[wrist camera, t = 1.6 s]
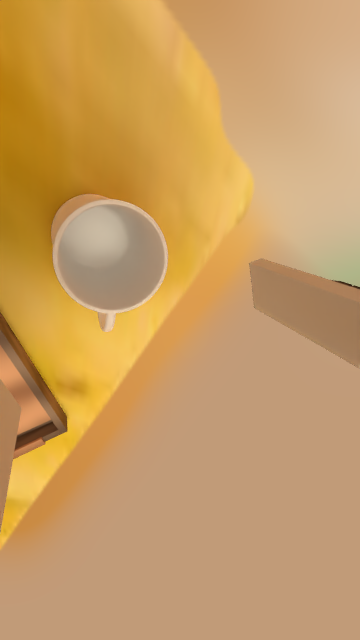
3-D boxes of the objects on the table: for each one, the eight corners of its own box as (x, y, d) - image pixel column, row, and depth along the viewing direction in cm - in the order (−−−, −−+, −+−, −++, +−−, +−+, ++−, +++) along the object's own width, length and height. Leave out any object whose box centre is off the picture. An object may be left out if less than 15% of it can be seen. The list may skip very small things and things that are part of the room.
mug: (125, 305, 34) (155, 353, 24) (49, 301, 30) (45, 355, 20) (139, 203, 30) (181, 209, 20) (52, 185, 26) (49, 180, 16)
